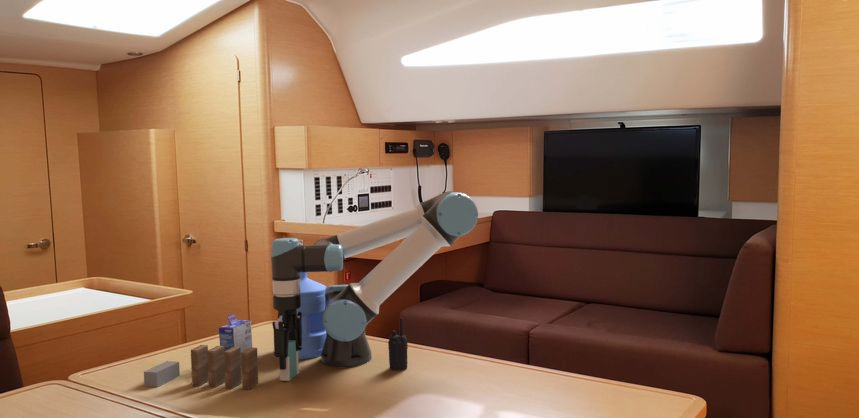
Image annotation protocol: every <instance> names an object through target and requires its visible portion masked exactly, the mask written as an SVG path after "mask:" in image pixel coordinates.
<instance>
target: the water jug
mask: <svg viewBox="0 0 859 418" xmlns="http://www.w3.org/2000/svg"><path fill="white" fill-rule="evenodd" d="M326 287H327V286H326V285H325V284H323V283H320V282H318V281H315V280H312V279H310V278H308V272H300V288H301V292H300V293H299V294H300V295H301V307H300V308H298V309H296V310H297V312H302V316H301V332H302V346H299V347H302V349H301V350H298V360H306V359H307V360H308V359H314V358H318V357H321V353H322V350H323V346H324V343H325V339H326V330H325V328H324V325H323V320H322V319H323V313H324V310H325V295H324V294H325V289H326ZM298 342H299V341H298Z"/></svg>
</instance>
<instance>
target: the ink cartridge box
mask: <svg viewBox="0 0 859 418" xmlns="http://www.w3.org/2000/svg"><path fill="white" fill-rule="evenodd" d="M232 318H234V319H232ZM231 319H232V320H231ZM227 320H228V323H226V324H224V325H222V326H219V327H218V335H219V338H218V339H219V346H224V351H226V350H228V349H230V348H232V347H241V352H243V351H245V350H247V349H249V348H250V347H251V348H253V335H252V320H250V319H237V317H236V315H235V314H231V315H229V316H227Z"/></svg>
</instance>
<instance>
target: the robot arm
mask: <svg viewBox="0 0 859 418" xmlns="http://www.w3.org/2000/svg"><path fill="white" fill-rule="evenodd" d="M478 219H479V211H478V207H477V204H476V202H475V201H474V200H473V199H472V198H471V197H470V196H469V195H468V194H466V193H463V192H460V191H459V192H458V191H451V190H450V191H444V192H442V193H440V194H438V195H436V196H434V197H431V198H428V199H427V200H425V201H421V202H418V204H417V205H416V207H414V208H411V209H408V210H406V211H403V212H399V213H397V214H394V215H391V216H388V217H384V218H382V219H379V220H376V221H372V222H370V223H367V224H364V225H361V226H358V227H356V228H352V229H350V230H346V231H343V232H341V233H337V234H336V235H335V234H334V235H332V236H329V237H323V238H320V239H317V240H316V241H315V242H314V243H313V244H311V245H310V244H307V245H305V244H300V241H299V239H298V238H296V237H282V238H275V239H274V240H272V241H271V254H270V255H271V276H272V277H271V278H272V282H271V286H272V293H273V294H274V295H273V297H272V307H273V310H275V311H277V320H276V321H274V320H273V321H272V329H273V355H274V358H278V369H279V371H278V372H279V381H282V380H283V381H284V382H285V381H286V382H289V381H291V380H290V366H289V357H287V355H288V343H289V340H296V370H297V375H299V374H300V367H299V365H300V364H299V362H300V360H299V359H298V350H301V349H302V347H299V346H302V332H301V316H302V312H297V310H296V309H298V308H300V307H301V295H300V294H299V293H300V292H301V288H300V272H307V273H323V272H324V273H326V272H329V273H332V272H338V271H339V272H340V271H342V270H343V268H344V260H345V259H346V258H347V259H348V258H350V257H352V256H353V257H354V256H356V255H359V254H362V253H365V252H367V251H371V250H373V249H377V248H379V247H383V246H386V245H388V244H391V243H394V242H395V243H396V242H397V241H400V240H403V239H404V240H403V241H401V242H400V243H399V244H398V245H397V247H395V248H394V249H393V250H392V251H391V252H390V253H388V255H387V256H386V257H384V258H383V259H382V261H380V262H379V263H378V264H377V265H376V266H375V267H374V268H373V269H372V270H371V271H370V272H368V274H366V276H364V277H363V278H362V279H361V280H360V281H359V282H351V283H349V284H334V285H333V284H332V285H328V286H326V289H325V294H324V295H325V310H324V313H323V319H322V320H323V325H324V328H325V330H326V339H325V343H324V346H323V350H322V353H321V356H320V362H321V364H322V365H325V366H326V367H331V368H338V367H342V368H343V367H345V368H354V367H359V366H363V365H364V364H365V365H366V364H367V362H368V363H369V362H371V361H372V358H373V357H372V350H371V347H370V344H369V342H368V338H367V335H366V327H367V325H369V323H370V322H371V321H373V319H375V318H376V316H378V315H379V313H380V306H381V305H382V304H383V303H384V302H385V301H386V300H387V299H388V298H389V297H390V296H391V295H392V294H393V293H394V292H395V291H396V290H397V289H399V288H400V287H401V286H402V285H403V284H404V283H405V282H406V281H407V280H408V279H409V278H410V277H411V276H412V275H413V274H415V272H417V271H418V270H419V268H421V267H422V266H423V265H424V264H425V263H426V262H427V261H428V260H429V259H430V258H431V257H433V255H434V254H436V252H438V251H439V250H440V249H441V248H443V247H451V246H452V245H453V244H454V243H455V242H456V241H457V240H458V239H460V238H461V237H462V236H463V237H464V236H465V235H467V234H469V233H470V232H472V231H473V229H474V228H475V227H476V225H477V223H478ZM298 341H299V342H298ZM362 364H363V365H362ZM358 365H359V366H358ZM353 366H354V367H353ZM343 369H344V368H343Z"/></svg>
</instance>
